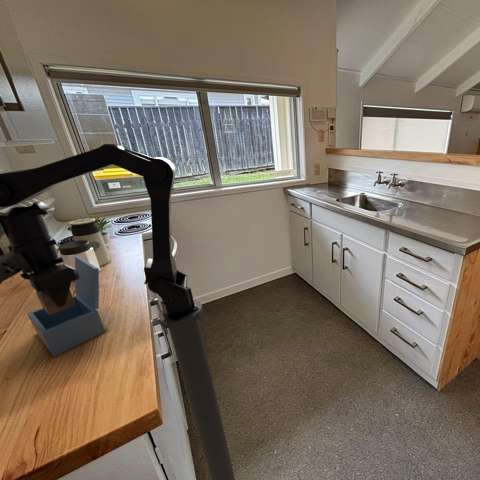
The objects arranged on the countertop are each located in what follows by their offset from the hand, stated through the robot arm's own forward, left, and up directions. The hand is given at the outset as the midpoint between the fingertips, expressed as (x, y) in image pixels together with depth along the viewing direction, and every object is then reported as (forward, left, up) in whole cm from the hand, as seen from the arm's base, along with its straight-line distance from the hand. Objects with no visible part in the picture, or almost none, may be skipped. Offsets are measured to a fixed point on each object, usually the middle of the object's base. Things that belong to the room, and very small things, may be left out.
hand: (58, 302), depth 57 cm
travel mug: (-20, -50, -11) cm, 55 cm away
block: (0, 0, -1) cm, 1 cm away
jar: (-14, -43, -11) cm, 46 cm away
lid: (-6, -6, +1) cm, 8 cm away
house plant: (-28, -69, -12) cm, 75 cm away
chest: (-1, -6, -11) cm, 13 cm away
